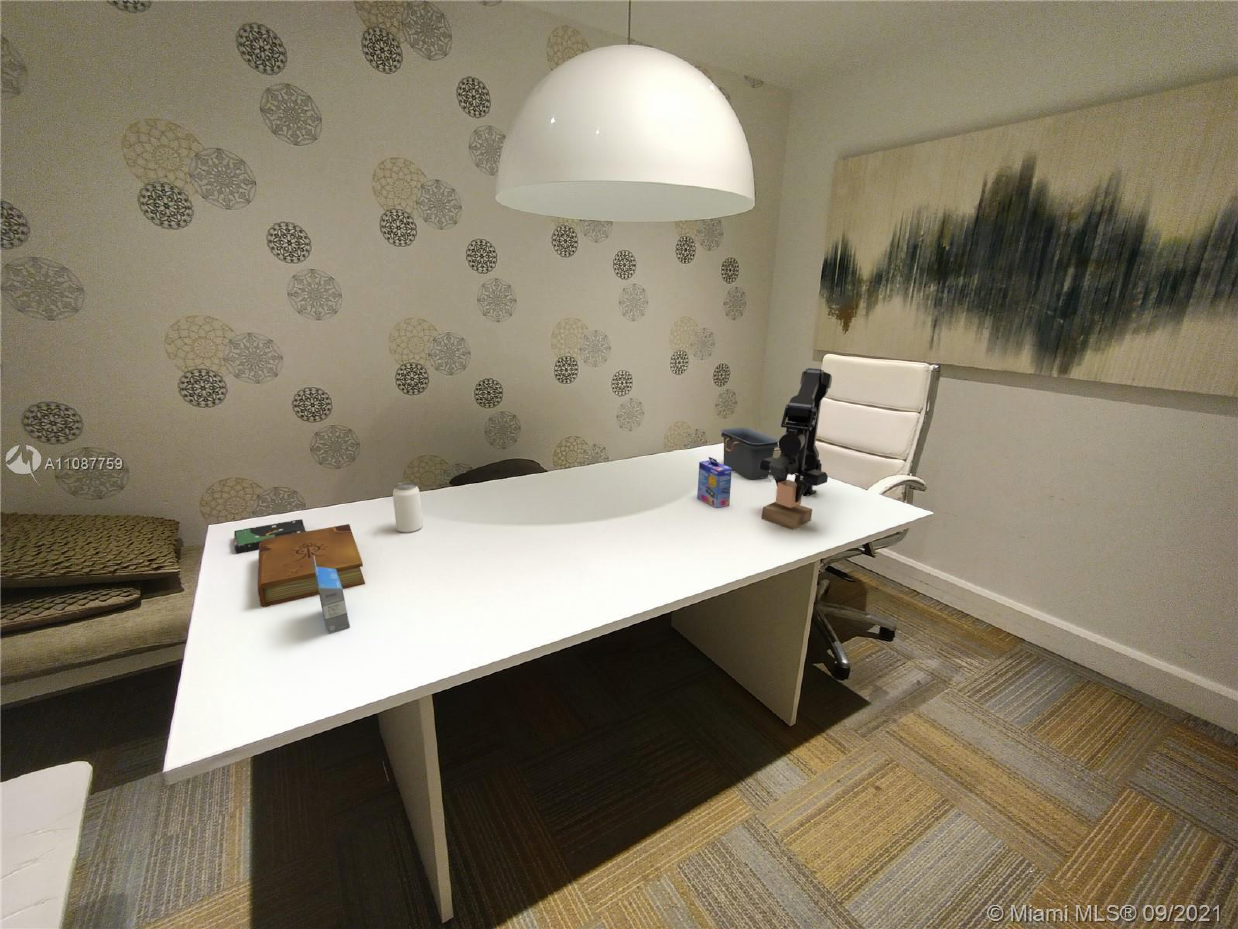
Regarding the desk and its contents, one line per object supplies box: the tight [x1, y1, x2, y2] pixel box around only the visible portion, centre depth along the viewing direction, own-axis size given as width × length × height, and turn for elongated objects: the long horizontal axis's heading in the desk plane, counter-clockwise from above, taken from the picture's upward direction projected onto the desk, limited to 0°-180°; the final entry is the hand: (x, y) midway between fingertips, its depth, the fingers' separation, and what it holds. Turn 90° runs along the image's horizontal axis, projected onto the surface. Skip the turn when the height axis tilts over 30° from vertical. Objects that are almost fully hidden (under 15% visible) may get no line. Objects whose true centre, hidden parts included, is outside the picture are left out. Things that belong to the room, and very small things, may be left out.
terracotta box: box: [774, 479, 803, 508], centre depth 152 cm, size 5×5×6 cm
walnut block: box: [761, 501, 813, 531], centre depth 154 cm, size 10×10×4 cm
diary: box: [256, 523, 366, 608], centre depth 118 cm, size 23×19×6 cm
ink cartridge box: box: [696, 456, 733, 509], centre depth 164 cm, size 10×6×14 cm, turn 30°
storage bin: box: [720, 426, 780, 480], centre depth 194 cm, size 21×16×14 cm
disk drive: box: [233, 519, 307, 555], centre depth 133 cm, size 10×3×15 cm
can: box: [392, 481, 423, 534], centre depth 140 cm, size 6×6×12 cm
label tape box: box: [314, 555, 351, 634], centre depth 100 cm, size 9×4×12 cm, turn 33°
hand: (788, 499), depth 153 cm, fingers closed on terracotta box, 5 cm apart
